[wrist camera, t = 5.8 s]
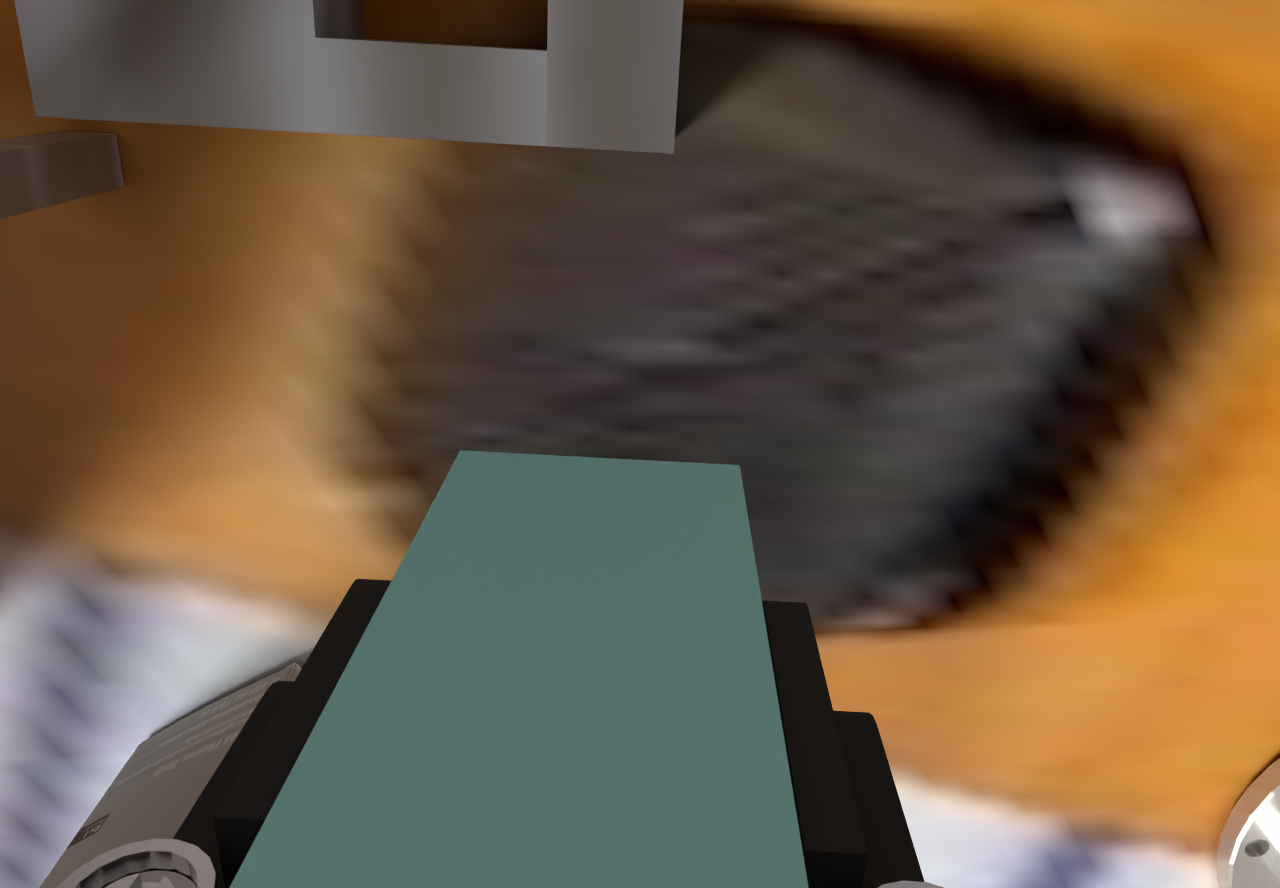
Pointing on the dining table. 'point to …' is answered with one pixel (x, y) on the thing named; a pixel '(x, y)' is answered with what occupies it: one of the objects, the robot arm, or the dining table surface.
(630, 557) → the peg
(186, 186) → the dining table surface
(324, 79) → the socket stand
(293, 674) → the skincare box
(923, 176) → the dining table surface
